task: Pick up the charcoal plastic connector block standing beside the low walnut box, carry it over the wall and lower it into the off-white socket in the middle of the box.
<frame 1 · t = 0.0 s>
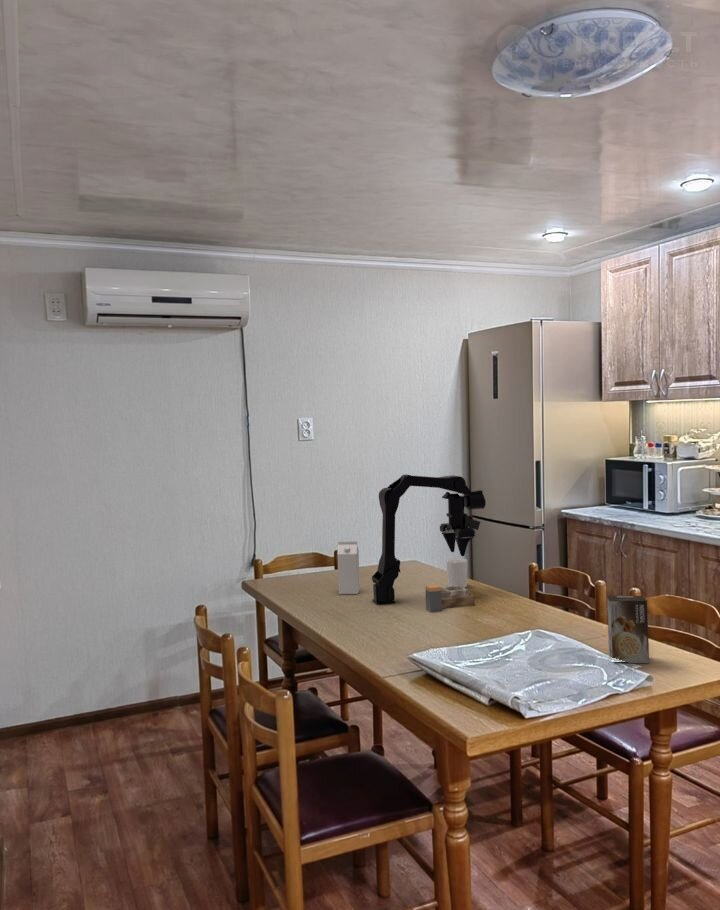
hand: (457, 554, 274), 15 cm above the table, tool pointing down, fingers open, 9 cm apart
coffee box: (628, 660, 196), on the table
milk carton: (349, 592, 284), on the table
connector: (433, 610, 253), on the table
white cup: (457, 587, 287), on the table
walled box: (451, 603, 262), on the table
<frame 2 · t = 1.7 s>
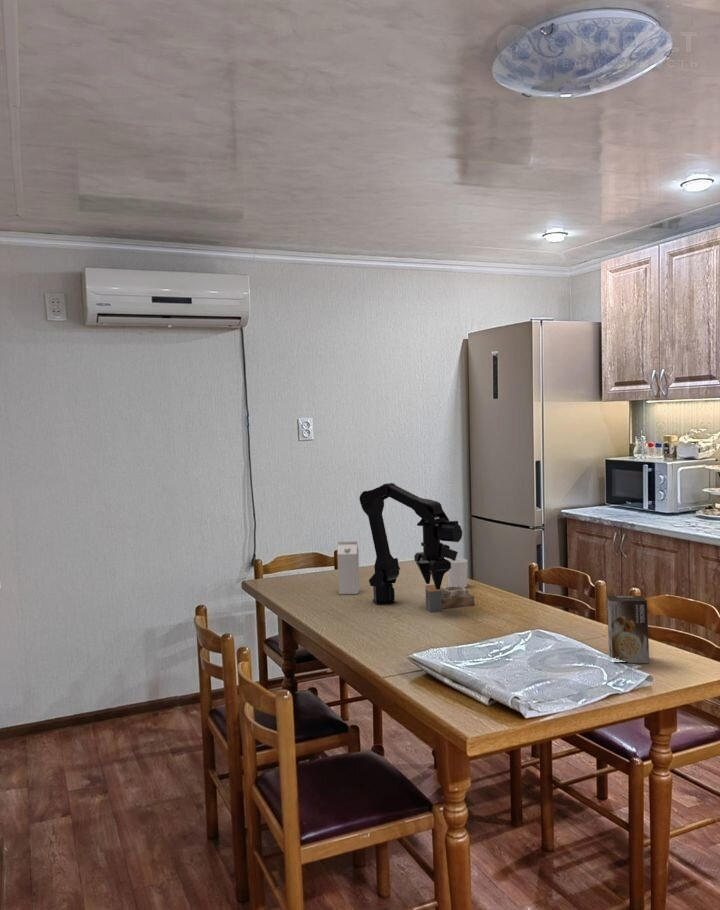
hand: (432, 586, 253), 8 cm above the table, tool pointing down, fingers open, 9 cm apart
nothing on the table moved.
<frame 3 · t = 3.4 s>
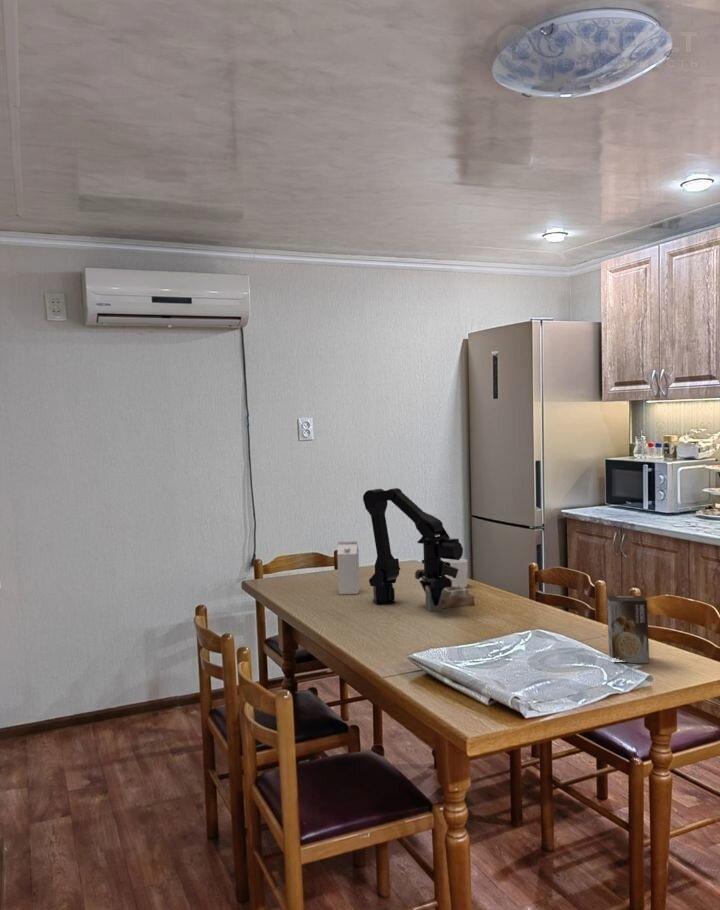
hand: (433, 604, 253), 2 cm above the table, tool pointing down, fingers closed on connector, 4 cm apart
connector: (433, 610, 253), on the table, touching gripper
everything else where it was.
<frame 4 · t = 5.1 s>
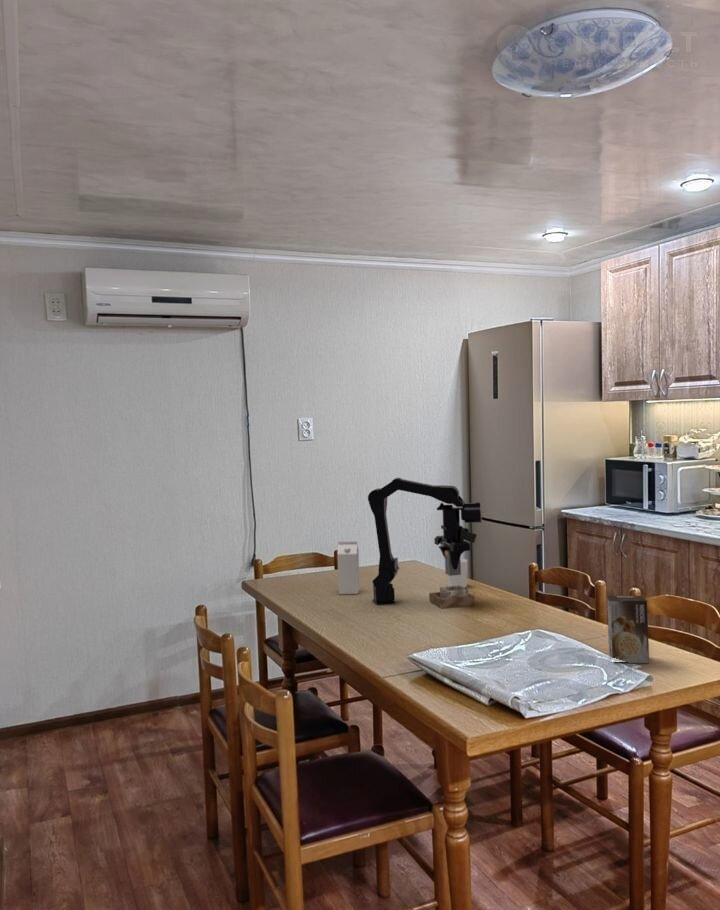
hand: (452, 568, 261), 12 cm above the table, tool pointing down, fingers closed on connector, 4 cm apart
connector: (453, 574, 261), point 10 cm above the table, touching gripper
everything else where it was.
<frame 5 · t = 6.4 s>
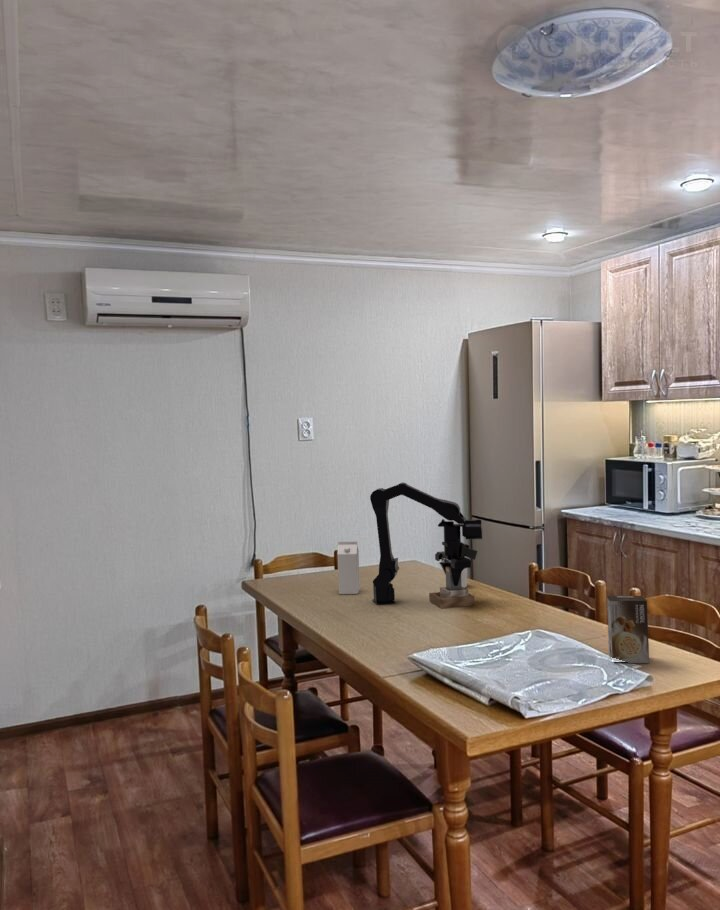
hand: (453, 584, 262), 6 cm above the table, tool pointing down, fingers closed on connector, 4 cm apart
connector: (453, 590, 262), point 4 cm above the table, touching gripper
everything else where it was.
when the fingers open (6 cm above the table, at t = 7.2 s): connector drops 2 cm, resting on walled box.
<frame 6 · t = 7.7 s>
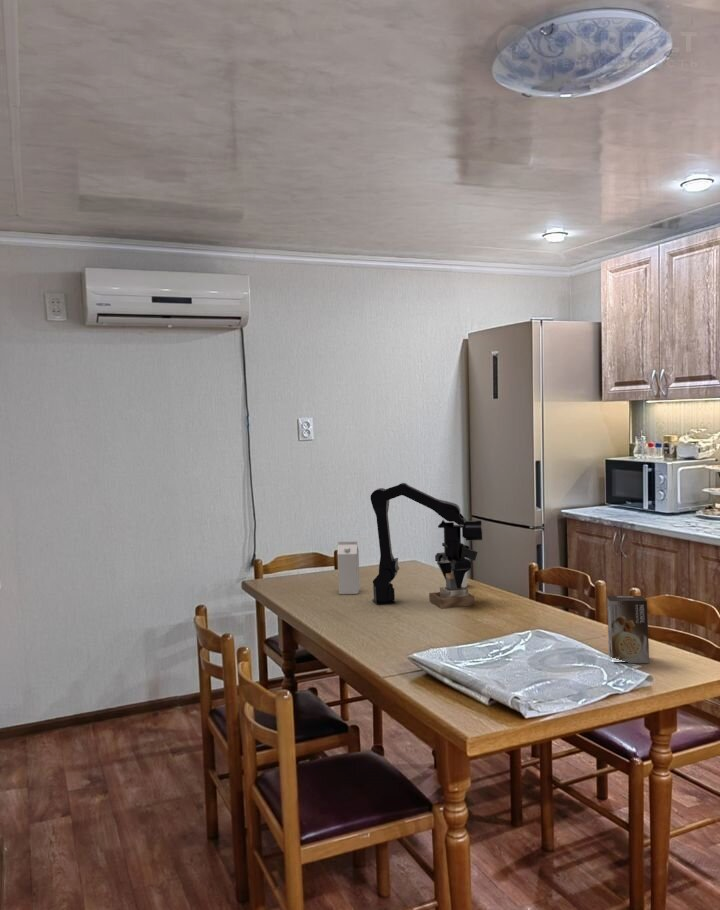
hand: (453, 585, 262), 6 cm above the table, tool pointing down, fingers open, 9 cm apart
connector: (454, 597, 262), point 2 cm above the table, touching walled box
everything else where it was.
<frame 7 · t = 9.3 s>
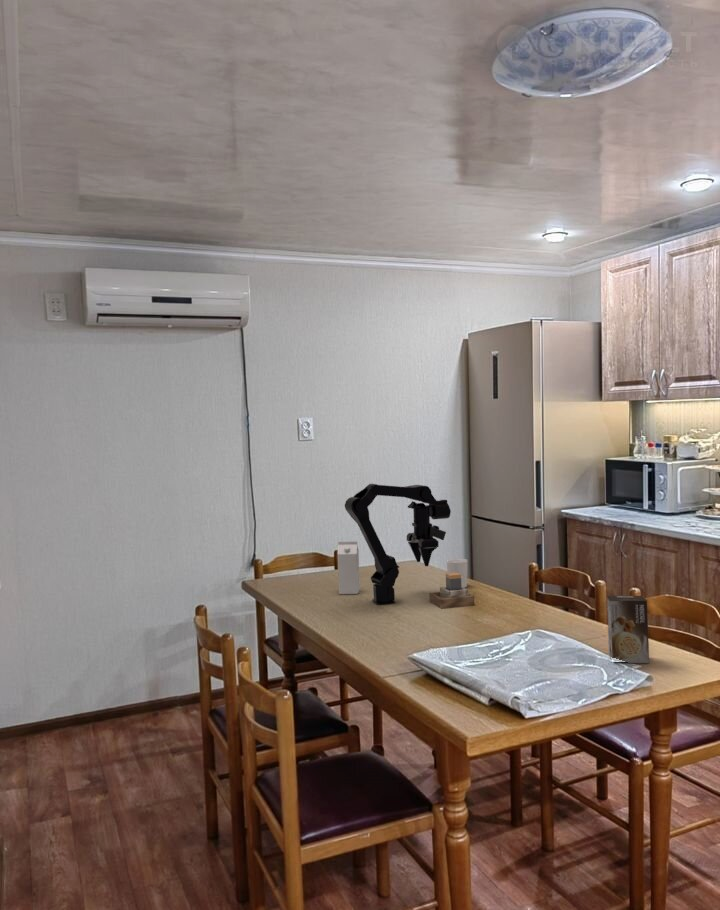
hand: (422, 563, 272), 12 cm above the table, tool pointing down, fingers open, 9 cm apart
nothing on the table moved.
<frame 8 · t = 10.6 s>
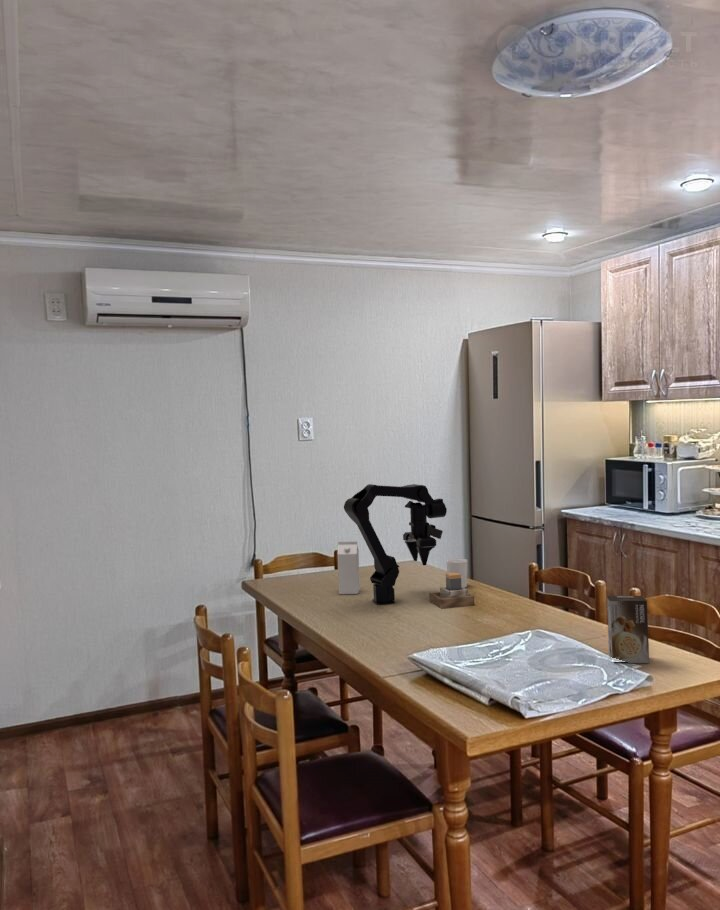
hand: (420, 563, 273), 12 cm above the table, tool pointing down, fingers open, 9 cm apart
nothing on the table moved.
at the end: connector 0.0 cm from the target spot on the walled box, point 2.0 cm above the walled box's base; connector tilted 0°; the gripper is holding nothing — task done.
